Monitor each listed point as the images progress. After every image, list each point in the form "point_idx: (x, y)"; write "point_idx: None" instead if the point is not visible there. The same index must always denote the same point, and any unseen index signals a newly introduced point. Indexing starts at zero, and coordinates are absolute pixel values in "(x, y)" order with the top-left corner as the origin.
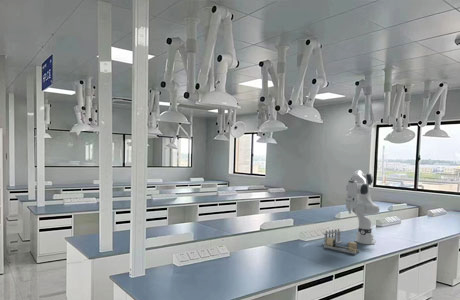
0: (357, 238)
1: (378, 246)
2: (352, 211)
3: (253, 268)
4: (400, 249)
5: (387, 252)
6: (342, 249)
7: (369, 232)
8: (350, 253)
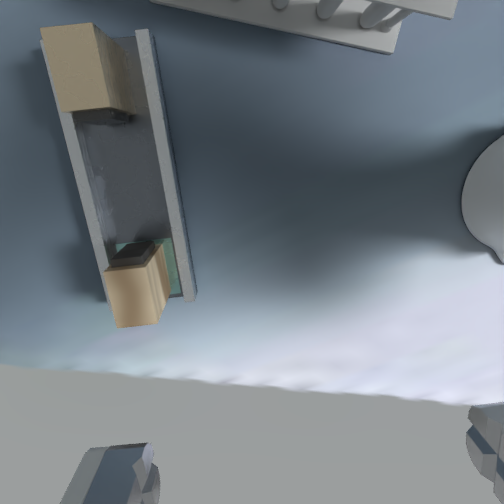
0: None
1: (469, 304)
2: (480, 416)
3: None
4: None
5: (360, 390)
6: (86, 220)
7: None
8: None
